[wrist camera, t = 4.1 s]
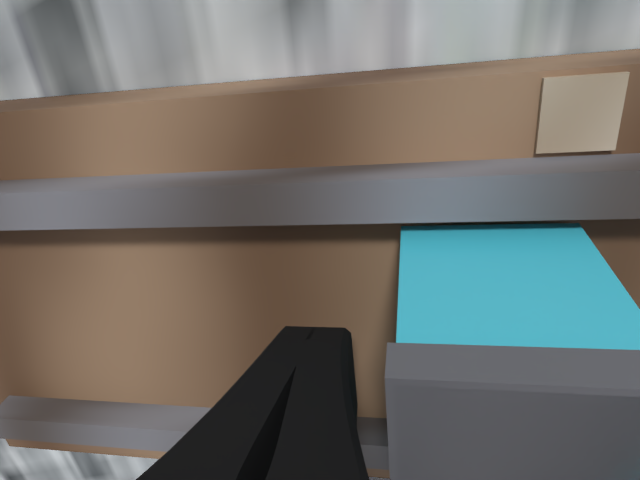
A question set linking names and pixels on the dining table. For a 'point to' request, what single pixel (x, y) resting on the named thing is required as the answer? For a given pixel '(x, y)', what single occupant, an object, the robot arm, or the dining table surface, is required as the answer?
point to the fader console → (274, 225)
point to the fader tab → (511, 358)
